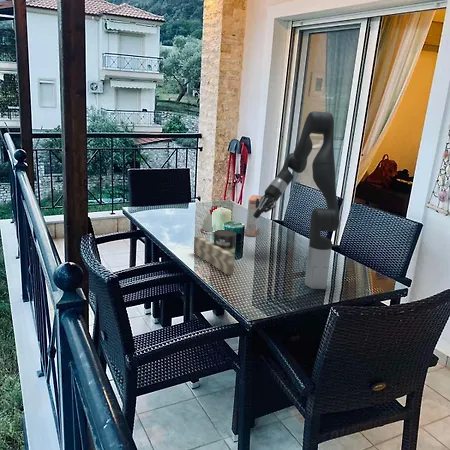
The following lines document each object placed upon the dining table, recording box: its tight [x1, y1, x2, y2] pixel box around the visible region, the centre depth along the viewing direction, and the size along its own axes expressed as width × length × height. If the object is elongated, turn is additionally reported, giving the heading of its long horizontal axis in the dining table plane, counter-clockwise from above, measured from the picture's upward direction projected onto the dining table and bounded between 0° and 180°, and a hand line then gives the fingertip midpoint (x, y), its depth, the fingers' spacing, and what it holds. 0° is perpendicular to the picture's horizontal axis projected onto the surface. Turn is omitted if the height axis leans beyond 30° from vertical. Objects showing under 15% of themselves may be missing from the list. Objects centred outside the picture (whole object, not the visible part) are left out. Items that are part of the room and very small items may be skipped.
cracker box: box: [245, 194, 263, 237], centre depth 257 cm, size 14×6×21 cm, turn 168°
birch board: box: [193, 235, 235, 276], centre depth 208 cm, size 30×2×9 cm, turn 34°
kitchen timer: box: [201, 205, 218, 232], centre depth 256 cm, size 14×14×15 cm
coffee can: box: [213, 229, 237, 257], centre depth 211 cm, size 10×10×14 cm
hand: (255, 217), depth 215 cm, fingers closed
